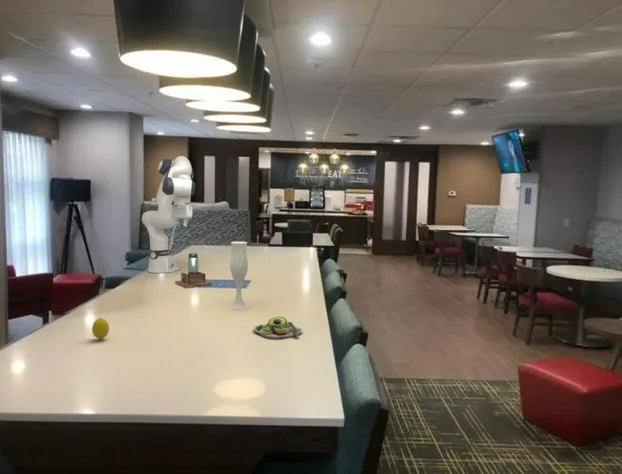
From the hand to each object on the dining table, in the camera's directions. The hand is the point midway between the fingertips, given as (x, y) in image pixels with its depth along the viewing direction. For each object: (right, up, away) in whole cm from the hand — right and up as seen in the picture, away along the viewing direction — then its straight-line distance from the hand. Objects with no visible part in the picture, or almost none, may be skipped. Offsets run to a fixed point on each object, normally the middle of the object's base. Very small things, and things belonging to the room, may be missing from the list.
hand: (181, 226), depth 296 cm
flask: (+10, -32, -12) cm, 35 cm away
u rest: (+10, -33, -11) cm, 36 cm away
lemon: (+1, -43, -115) cm, 122 cm away
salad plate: (+63, -43, -101) cm, 126 cm away
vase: (+43, -39, -62) cm, 85 cm away
